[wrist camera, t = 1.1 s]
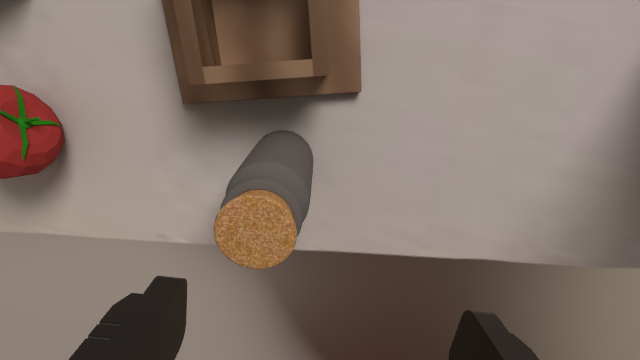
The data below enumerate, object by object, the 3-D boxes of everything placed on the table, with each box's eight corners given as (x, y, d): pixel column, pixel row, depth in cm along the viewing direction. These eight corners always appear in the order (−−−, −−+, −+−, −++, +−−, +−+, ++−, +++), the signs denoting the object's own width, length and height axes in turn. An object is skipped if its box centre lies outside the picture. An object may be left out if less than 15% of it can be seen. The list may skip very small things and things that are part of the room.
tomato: (-95, 175, 25) (-34, 141, 22) (-75, 85, 27) (-18, 47, 25) (30, 195, 32) (86, 172, 30) (37, 123, 34) (89, 96, 32)
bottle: (298, 196, 34) (281, 291, 20) (244, 172, 34) (188, 254, 20) (323, 145, 33) (324, 212, 19) (267, 119, 32) (224, 167, 18)
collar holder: (355, -96, 26) (364, -139, 20) (360, 90, 31) (368, 97, 25) (151, -79, 27) (105, -116, 21) (187, 102, 31) (157, 112, 26)
